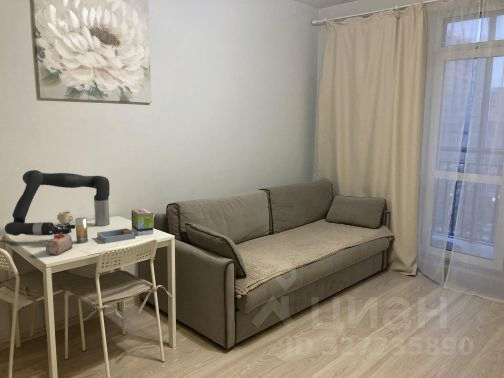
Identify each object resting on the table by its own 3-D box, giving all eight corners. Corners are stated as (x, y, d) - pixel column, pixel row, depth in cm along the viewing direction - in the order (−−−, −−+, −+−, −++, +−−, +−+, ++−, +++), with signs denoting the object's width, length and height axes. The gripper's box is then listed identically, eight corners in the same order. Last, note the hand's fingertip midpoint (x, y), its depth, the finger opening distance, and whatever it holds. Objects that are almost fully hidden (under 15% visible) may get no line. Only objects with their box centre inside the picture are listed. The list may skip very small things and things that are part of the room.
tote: (97, 239, 247) (97, 232, 246) (126, 234, 257) (126, 228, 257) (104, 244, 236) (104, 238, 235) (135, 239, 246) (135, 233, 246)
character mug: (77, 231, 262) (76, 211, 260) (70, 234, 255) (69, 214, 253) (61, 230, 264) (60, 210, 262) (54, 233, 257) (53, 213, 255)
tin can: (75, 241, 241) (74, 218, 239) (86, 239, 245) (85, 216, 243) (78, 244, 236) (76, 220, 234) (89, 242, 240) (87, 218, 238)
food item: (58, 256, 215) (57, 238, 213) (44, 255, 216) (43, 237, 215) (74, 248, 228) (73, 231, 227) (61, 247, 230) (60, 230, 228)
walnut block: (121, 235, 251) (121, 229, 250) (127, 234, 254) (127, 228, 253) (124, 238, 246) (124, 231, 246) (131, 237, 249) (131, 230, 248)
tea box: (154, 235, 257) (153, 212, 254) (138, 237, 251) (137, 213, 249) (146, 229, 269) (146, 207, 267) (131, 231, 264) (130, 209, 262)
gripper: (37, 225, 230) (67, 225, 231) (48, 219, 244) (76, 219, 245) (38, 238, 232) (67, 238, 233) (49, 231, 246) (76, 231, 247)
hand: (72, 228), depth 239 cm, fingers open, 8 cm apart
